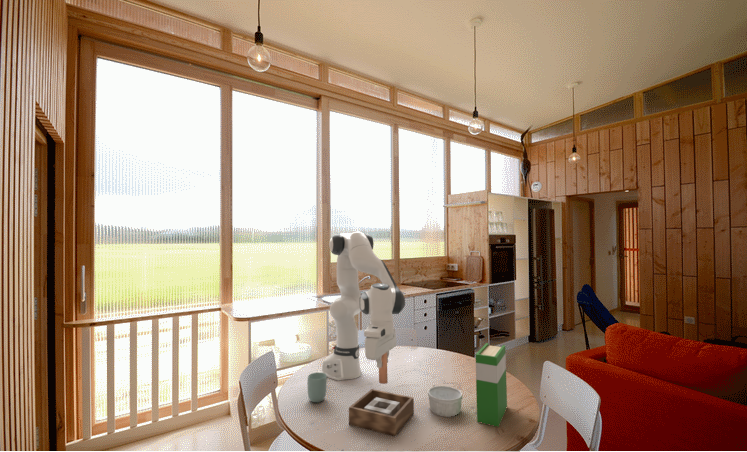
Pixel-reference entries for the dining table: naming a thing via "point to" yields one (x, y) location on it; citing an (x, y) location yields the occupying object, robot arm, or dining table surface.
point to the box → (381, 412)
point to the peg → (383, 370)
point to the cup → (317, 386)
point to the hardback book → (491, 384)
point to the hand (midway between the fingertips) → (382, 365)
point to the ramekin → (445, 400)
